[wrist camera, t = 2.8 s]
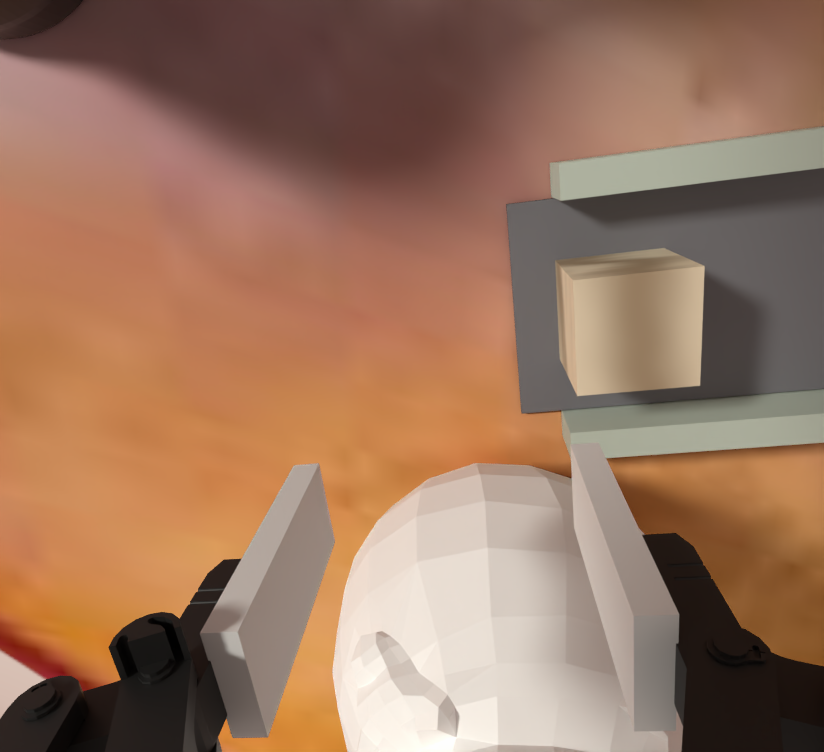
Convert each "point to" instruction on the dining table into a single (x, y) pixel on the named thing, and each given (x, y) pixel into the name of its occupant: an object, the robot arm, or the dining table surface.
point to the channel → (710, 417)
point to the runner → (723, 281)
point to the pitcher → (480, 626)
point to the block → (630, 321)
